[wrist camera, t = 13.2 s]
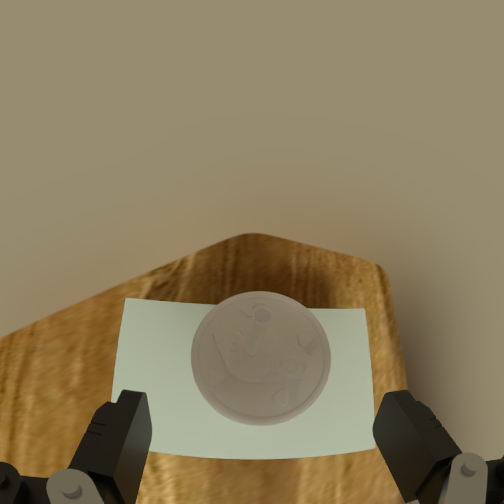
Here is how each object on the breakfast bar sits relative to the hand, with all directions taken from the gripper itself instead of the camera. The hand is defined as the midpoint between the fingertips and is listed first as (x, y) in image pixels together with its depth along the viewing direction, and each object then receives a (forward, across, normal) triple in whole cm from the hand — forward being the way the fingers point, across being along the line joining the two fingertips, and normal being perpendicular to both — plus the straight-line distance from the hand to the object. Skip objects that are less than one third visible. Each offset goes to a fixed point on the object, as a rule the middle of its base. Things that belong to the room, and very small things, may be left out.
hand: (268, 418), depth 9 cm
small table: (+16, 0, +12) cm, 20 cm away
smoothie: (+11, 0, +7) cm, 13 cm away
